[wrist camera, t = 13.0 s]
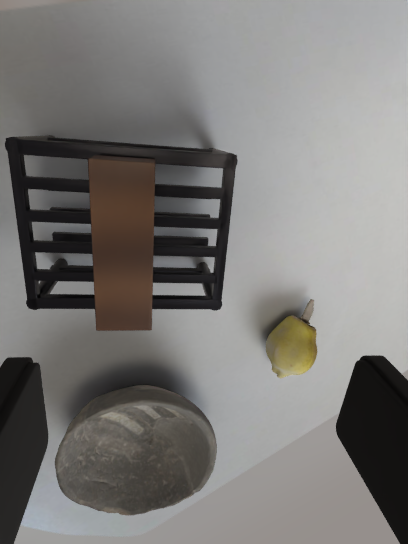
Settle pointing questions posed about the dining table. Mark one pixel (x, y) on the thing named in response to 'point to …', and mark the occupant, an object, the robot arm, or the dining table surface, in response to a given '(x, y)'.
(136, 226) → the brown wooden block
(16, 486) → the robot arm
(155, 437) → the bowl
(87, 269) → the rack
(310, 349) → the fruit
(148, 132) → the dining table surface
